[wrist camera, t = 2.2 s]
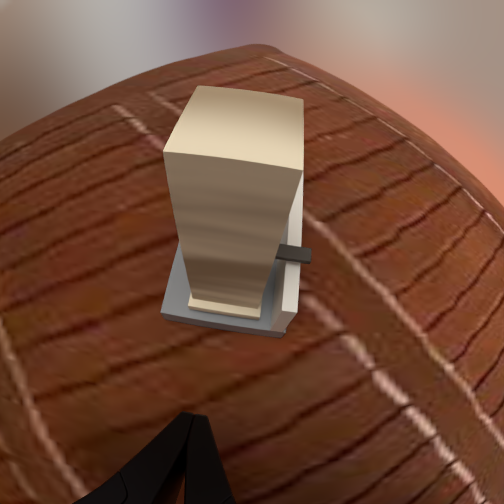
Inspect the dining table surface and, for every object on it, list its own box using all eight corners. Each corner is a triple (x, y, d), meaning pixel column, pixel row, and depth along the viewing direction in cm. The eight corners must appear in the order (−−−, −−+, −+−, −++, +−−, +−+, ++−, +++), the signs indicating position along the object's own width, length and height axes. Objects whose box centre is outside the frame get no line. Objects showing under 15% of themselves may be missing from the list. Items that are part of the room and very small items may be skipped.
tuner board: (281, 337, 20) (300, 313, 15) (164, 319, 20) (146, 288, 15) (293, 161, 28) (305, 117, 23) (212, 149, 28) (213, 103, 23)
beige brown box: (290, 324, 18) (377, 198, 8) (188, 308, 18) (150, 162, 8) (295, 255, 21) (356, 106, 10) (204, 241, 21) (196, 79, 10)
